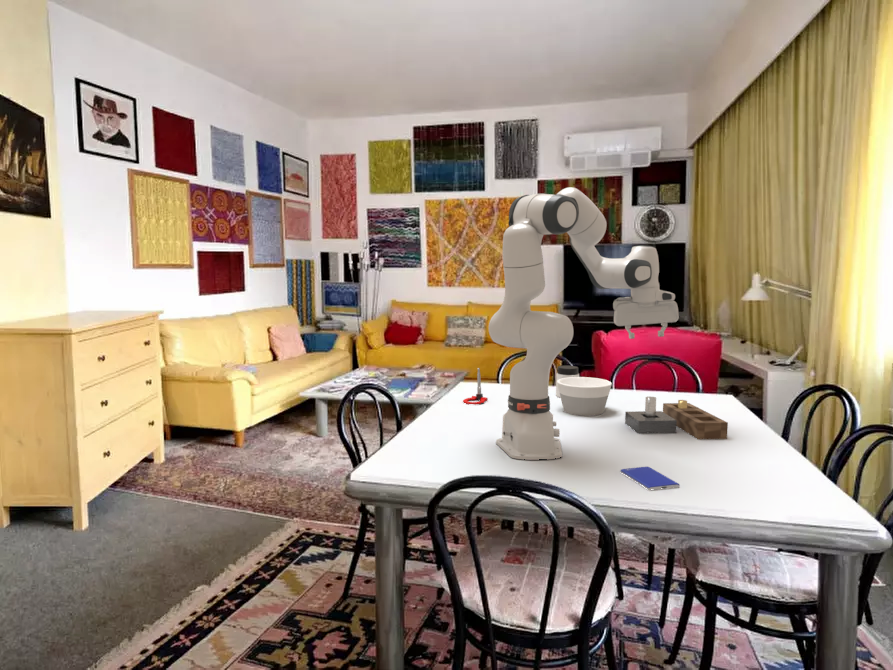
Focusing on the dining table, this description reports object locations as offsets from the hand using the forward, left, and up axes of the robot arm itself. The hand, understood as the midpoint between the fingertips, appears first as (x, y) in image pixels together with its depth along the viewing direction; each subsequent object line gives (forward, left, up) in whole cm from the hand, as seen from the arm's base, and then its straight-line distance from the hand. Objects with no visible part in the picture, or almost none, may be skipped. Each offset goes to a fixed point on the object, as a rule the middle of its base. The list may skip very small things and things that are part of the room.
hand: (646, 337), depth 193 cm
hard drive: (-53, +19, -29) cm, 64 cm away
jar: (+41, +16, -29) cm, 52 cm away
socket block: (-7, +1, -29) cm, 29 cm away
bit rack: (-7, -13, -29) cm, 32 cm away
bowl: (+17, +16, -29) cm, 37 cm away
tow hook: (+33, +54, -29) cm, 69 cm away
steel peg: (-7, +1, -29) cm, 29 cm away
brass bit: (+1, -13, -29) cm, 31 cm away
